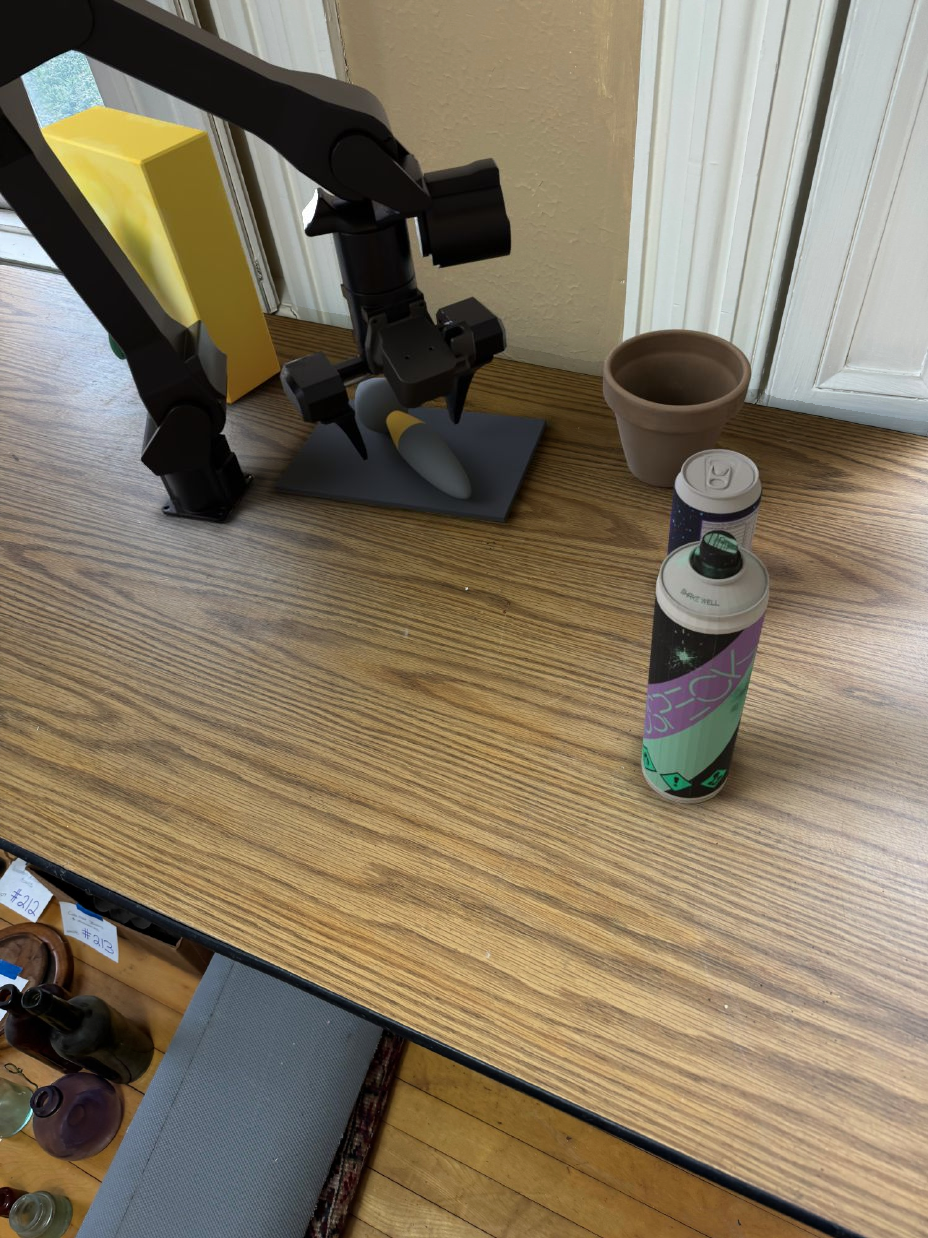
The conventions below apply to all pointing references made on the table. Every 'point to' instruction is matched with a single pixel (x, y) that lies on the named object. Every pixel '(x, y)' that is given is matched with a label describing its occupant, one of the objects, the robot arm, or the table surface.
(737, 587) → the spray can
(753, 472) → the beverage can
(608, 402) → the flower pot
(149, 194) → the mottled yellow carton
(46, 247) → the robot arm
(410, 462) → the paintbrush
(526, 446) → the mat
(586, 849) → the table surface
